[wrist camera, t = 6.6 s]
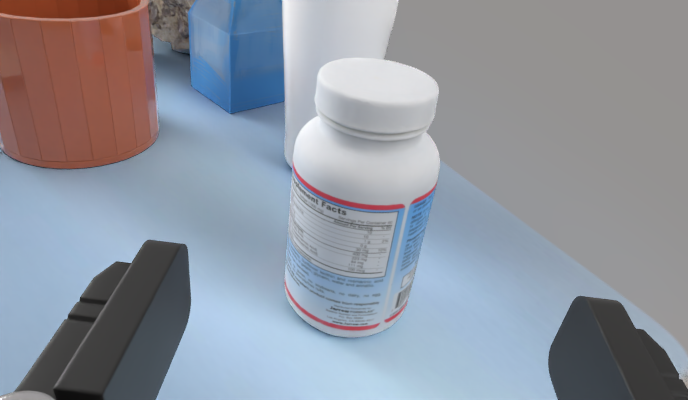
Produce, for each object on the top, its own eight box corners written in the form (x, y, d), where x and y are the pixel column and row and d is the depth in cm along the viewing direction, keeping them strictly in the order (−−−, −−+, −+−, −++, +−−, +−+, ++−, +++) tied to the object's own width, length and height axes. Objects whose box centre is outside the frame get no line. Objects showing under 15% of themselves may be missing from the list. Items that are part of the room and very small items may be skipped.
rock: (277, 46, 50) (182, -3, 43) (212, 96, 57) (122, 62, 51) (275, -28, 53) (186, -84, 46) (214, 29, 61) (129, -12, 54)
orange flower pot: (0, 181, 30) (-45, 23, 25) (-4, 110, 37) (-40, -24, 32) (175, 155, 35) (166, 18, 30) (142, 96, 42) (130, -22, 37)
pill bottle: (357, 243, 29) (391, 45, 23) (430, 314, 25) (494, 97, 19) (260, 277, 26) (269, 57, 20) (326, 363, 22) (362, 123, 16)
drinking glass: (301, 198, 32) (325, -71, 24) (257, 148, 37) (264, -92, 29) (388, 178, 36) (436, -64, 28) (338, 135, 40) (365, -83, 32)
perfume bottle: (292, 99, 45) (302, -53, 38) (230, 113, 41) (230, -53, 35) (252, 75, 49) (255, -68, 42) (191, 86, 45) (184, -69, 38)
